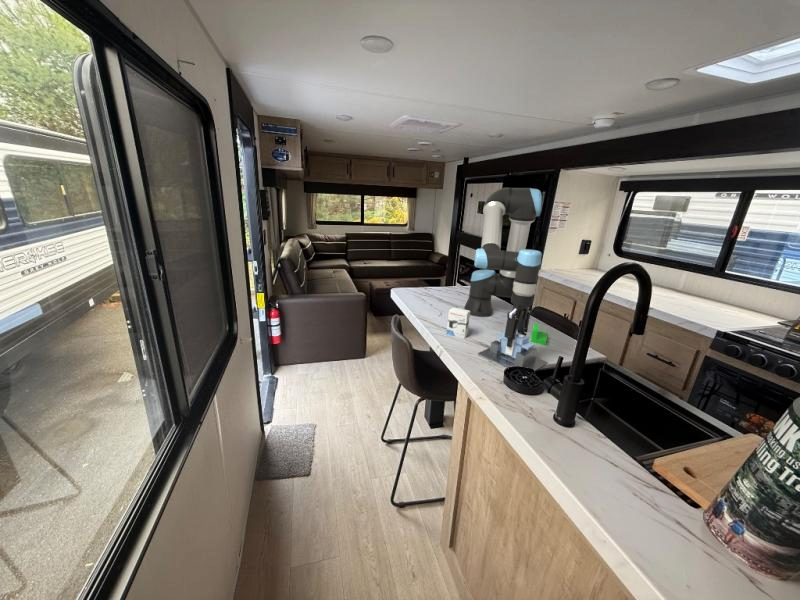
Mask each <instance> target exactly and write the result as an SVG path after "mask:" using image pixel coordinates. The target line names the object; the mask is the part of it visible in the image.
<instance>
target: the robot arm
mask: <svg viewBox="0 0 800 600" xmlns="http://www.w3.org/2000/svg"><path fill="white" fill-rule="evenodd" d="M542 199H543V198H542V192H541V190H539V189H538V188H531V187H502V188H499V189H497V190H495V191H493V193H491V194H490V195H489V196H487V198H486V200H485V202H484V205H483V207H482V208H483V210H482V212H483V215H484V219H483V229H482V235H481V237H482V238H481V244H480V246H481V247H480V248H476V250H475V255H474V264H473V266H474V267H475V268H478V269H479V270H478V269H477V270H475V271H473V272H472V273H471V278H470V287H469V295H468V299H467V300H466V302H465V304H464V308H463V309H464V310H469V311H470V316H473V317H478V318H481V317H482V318H488V317H490V316H493V313H494V309H493V304H492V296H495V297H503V298H510V303H511V304H512V305H513V307H512V310H511V311H508V312H507V314H506V315H507V319H506V324H505V330H504V332H505V336H504V337H506V338H508V339H507V345H506V351H505V353H506V354H508V355H511V356H512V355H513V351H514V345H515V339H514V338H515V335H516V332H517V333H520V334H523V335H526V336H528V334H527V333H528V330H529V323H530V317H531V313H532V311H533V308H532V307H531V306H533V304H534V300H535V294H536V289H537V284H538V278H539V272H540V268H541V263H542V255H543V254H542V252H541V251H540V250H536V249H526V247H527V245H528V244H527V243H528V238H529V233H530V229H531V228H530V227H531V224H532V223H534V222H535V220H536V217H539V216H541V211H542V203H543V202H542V201H543V200H542ZM504 215H508V220H509V221H510V228H509V234H508V239H507V246H506V250H501V247H502V245H501V244H502V229H503V216H504ZM496 270H497V271H499V273H496Z"/></svg>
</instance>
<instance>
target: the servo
mask: <svg viewBox="0 0 800 600" xmlns="http://www.w3.org/2000/svg"><path fill="white" fill-rule="evenodd" d="M504 336H505V331H503V332H502V333H499V334H496V335H495V338H497V339H499V340H500V339H502V341H501V343H499V344H500V352H501V353H504V354H506V353H505V351H506V345H507V339H508V338H506V337H504ZM514 339H515V345H514V351H513V355H512V356H511V355H508V354H506V355H508V356H511V357H513V358H516V353H517V352H521V353H524V352H526V351H527V350H528V349H530V348H532V347H534V348H535V346H536V345H535V344H536V343H533V342H531V341H529V340H530V336H528V335H523V334H520V333H517V331H516V335H515V338H514Z"/></svg>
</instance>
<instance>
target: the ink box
mask: <svg viewBox="0 0 800 600" xmlns="http://www.w3.org/2000/svg"><path fill="white" fill-rule="evenodd" d="M470 316H471V315H470V311H469V310H464V308H463V309H462V308H459V307H455V306H454V307H451V308H450V309H449V310H448V316H447V322H446V323H447V326H446V332H445V334H446V335H449V336H452V337H456V338H460V339H464V340H465V339H466V337H467V336H468V334H469V333H468V332H469V325H470Z"/></svg>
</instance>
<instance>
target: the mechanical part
mask: <svg viewBox="0 0 800 600" xmlns="http://www.w3.org/2000/svg"><path fill="white" fill-rule="evenodd" d="M539 326H540V324H539V323H535V322H534V324H533V327H532V331H531V332H532V333H531V336H530V337H531V338H530V343H533V344H539V345H543V346H546V345H547V338H548V333H547V332H545V331H542V330H539V328H540V327H539Z"/></svg>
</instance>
